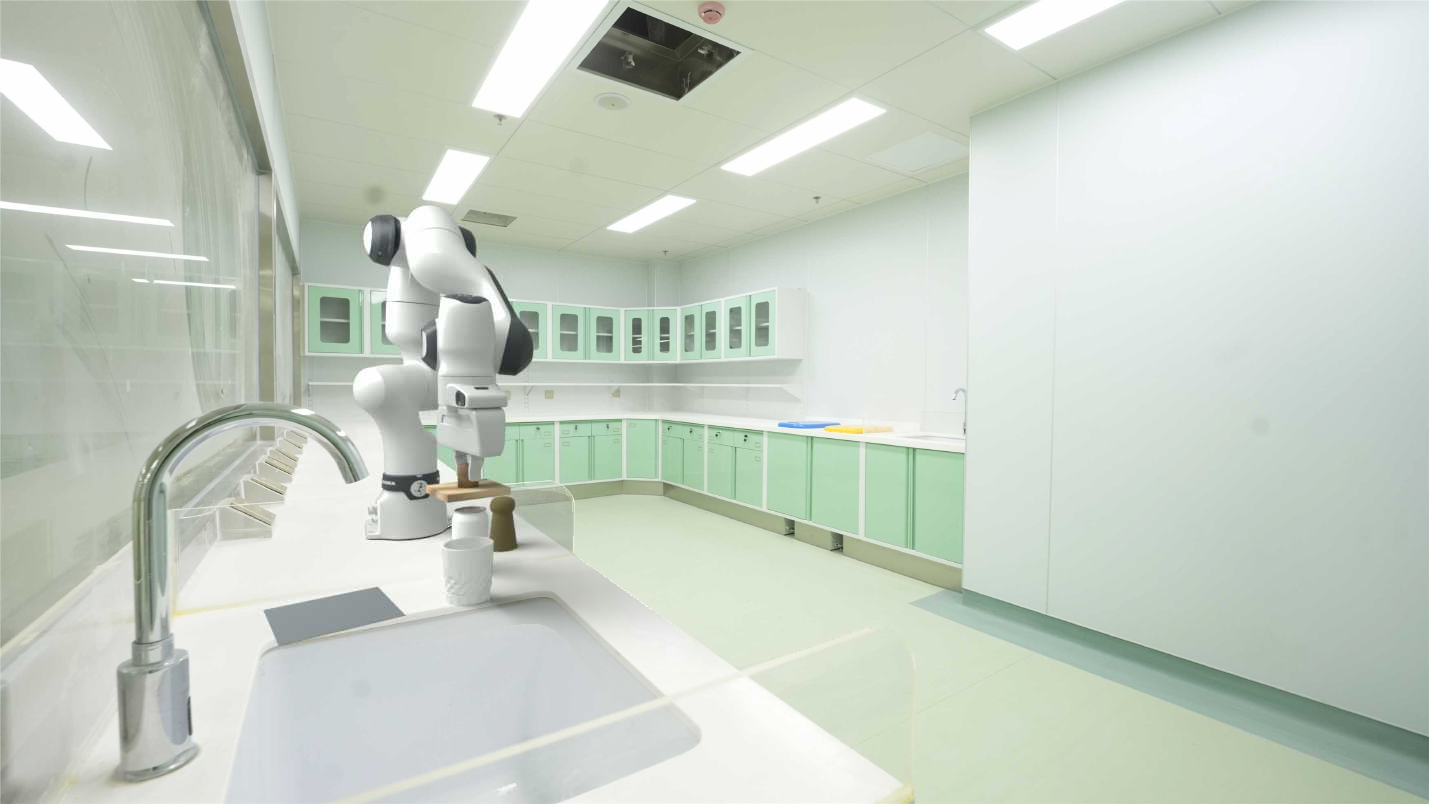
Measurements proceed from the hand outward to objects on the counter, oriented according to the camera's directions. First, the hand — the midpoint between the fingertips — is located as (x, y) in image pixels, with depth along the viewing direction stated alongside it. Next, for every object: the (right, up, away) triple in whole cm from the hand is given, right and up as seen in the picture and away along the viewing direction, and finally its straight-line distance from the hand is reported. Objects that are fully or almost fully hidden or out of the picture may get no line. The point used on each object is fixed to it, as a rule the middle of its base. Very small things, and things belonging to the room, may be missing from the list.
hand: (468, 478), depth 101 cm
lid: (0, -3, 0) cm, 2 cm away
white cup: (0, -21, +1) cm, 21 cm away
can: (-6, -20, +16) cm, 26 cm away
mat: (-18, -21, -6) cm, 28 cm away
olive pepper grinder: (-5, -19, +32) cm, 37 cm away
